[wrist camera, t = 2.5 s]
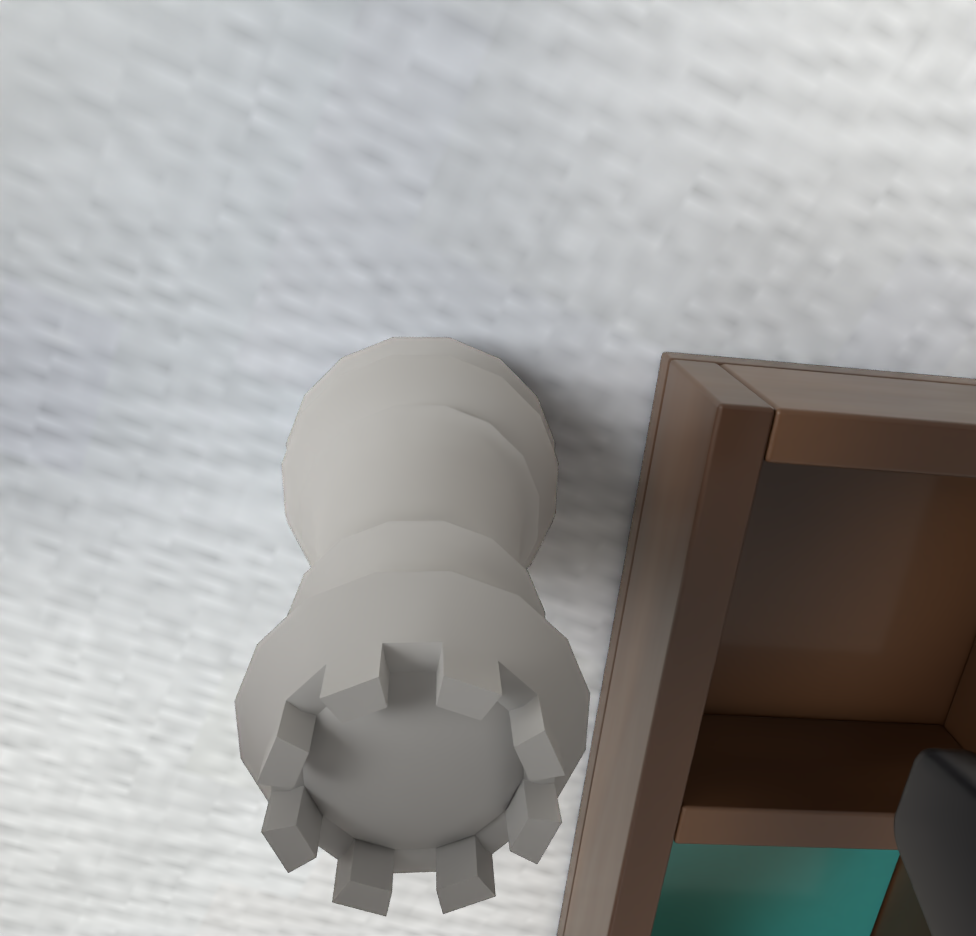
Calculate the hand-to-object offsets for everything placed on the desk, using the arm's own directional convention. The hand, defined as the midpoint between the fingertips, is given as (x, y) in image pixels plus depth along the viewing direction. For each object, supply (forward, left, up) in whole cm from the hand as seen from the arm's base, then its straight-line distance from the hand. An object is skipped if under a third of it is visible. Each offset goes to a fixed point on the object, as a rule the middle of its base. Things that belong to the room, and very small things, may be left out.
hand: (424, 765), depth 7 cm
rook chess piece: (0, 0, -8) cm, 8 cm away
